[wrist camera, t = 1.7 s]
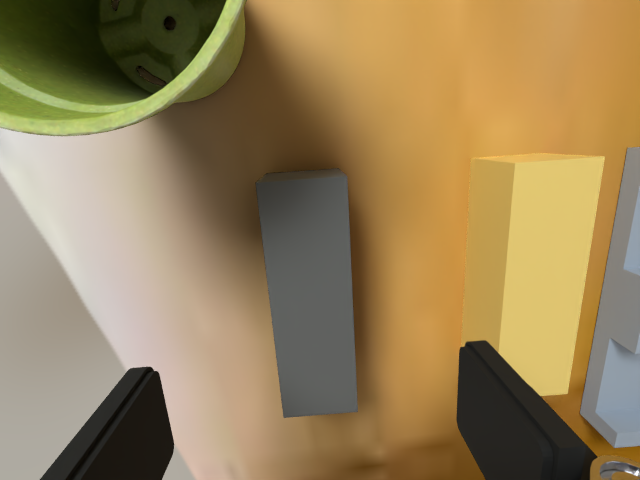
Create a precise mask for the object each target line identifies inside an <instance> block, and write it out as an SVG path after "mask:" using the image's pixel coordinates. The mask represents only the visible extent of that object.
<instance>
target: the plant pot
mask: <svg viewBox="0 0 640 480" xmlns="http://www.w3.org/2000/svg"><path fill="white" fill-rule="evenodd" d="M246 1H247V0H120V1H119V4H118V8H117V11H114V9H113V7H112V5H111V2H112V0H0V128H3V129H7V130H12V131H18V132H24V133H29V134H37V135H50V136H78V135H90V134H95V133H102V132H108V131H112V130H116V129H120V128H124V127H127V126H130V125H133V124H136V123H139V122H141V121H143V120H145V119H147V118H149V117H152V116H154V115H156V114H157V113H159V112H161V111H163V110H164V109H166V108H168V107H169V106H171V105H172V104H173V103H176V102H189V101H194V100H198V99H201V98H203V97H206V96H208V95H210V94H212V93H214V92H215V91H217V90H218V89H219V88H221V87H222V86H223V85H224V84H225V83H226V82H227V80H228V79H229V78H230V77H231V76H232V74H233V73H234V71H235V69H236V67H237V65H238V63H239V61H240V58H241V55H242V51H243V47H244V41H245V17H244V6H245V3H246ZM168 16H170V17H173V18H174V20H175V21H176V25H175V28H174V29H173V30H167V29H166V28H165V26H164V20H165V19H166V18H167V17H168ZM137 66H142V67H143V68H144V69H145V70H147V71H148V72H150V73H151V74H153V75H154V76H156V77H158V78H160V79H161V80H163V81H165V82H166V83H167V84H166V85H164V86H160V85H157V84H153V83H151V82H149V81H147V80H145V79H144V78H143V77H141V76H140V75H139V73H138V71H137V70H136V68H137Z"/></svg>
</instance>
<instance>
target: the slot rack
mask: <svg viewBox="0 0 640 480" xmlns="http://www.w3.org/2000/svg"><path fill="white" fill-rule="evenodd" d="M580 414H581V415H582V416H583V417H584V418H585V419H586V420H587V421H588V422H589V423H590V424H591V425H592V426H593V427H594V428H595V429H596V430H597V431H598V432H599V433H600V434H601V435H602V436H603V437H604V438H605V439H606V440H607V441H608V442H609V443H610V444H611V445H612V446H613V447H614V448H618V447H630V446H640V147H634V148H628V149H627V154H626V160H625V165H624V171H623V177H622V182H621V188H620V193H619V199H618V204H617V210H616V215H615V221H614V227H613V232H612V238H611V243H610V249H609V254H608V260H607V266H606V271H605V277H604V282H603V288H602V293H601V299H600V304H599V310H598V316H597V321H596V327H595V332H594V338H593V343H592V349H591V355H590V360H589V366H588V371H587V377H586V382H585V388H584V393H583V399H582V405H581V410H580Z"/></svg>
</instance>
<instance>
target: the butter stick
mask: <svg viewBox="0 0 640 480" xmlns="http://www.w3.org/2000/svg"><path fill="white" fill-rule="evenodd" d="M604 159H605V156H587V155H568V154H550V153H535V154H521V155H508V156H494V157H481V158H471V163H470V182H469V202H468V221H467V240H466V259H465V279H464V298H463V317H462V336H461V347H465V343H466V342H467V341H480V340H486V341H487V342H489V344H490V345H491V346H492V347H493V348H494V349H495V350H496V351H497V352H498V353H499V354H500V355H501V356H502V357H503V358H504V359H505V361H506V362H507V363H508V364H509V365H510V366H511V367H512V368H513V369H514V370H515V371H516V372H517V373H518V374H519V375H520V376H521V378H522V379H523V380H524V381H525V382H526V383H527V384H528V385H530V386H531V387H532V388H533V389H534V390H535V391H536V392H537V393H538V394H539V396H547V395H559V394H568V387H569V381H570V375H571V368H572V362H573V356H574V349H575V343H576V337H577V330H578V324H579V318H580V311H581V305H582V299H583V292H584V286H585V280H586V273H587V267H588V261H589V254H590V248H591V242H592V235H593V229H594V223H595V216H596V210H597V203H598V197H599V191H600V184H601V178H602V172H603V165H604Z"/></svg>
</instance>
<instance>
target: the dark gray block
mask: <svg viewBox="0 0 640 480" xmlns="http://www.w3.org/2000/svg"><path fill="white" fill-rule="evenodd" d="M256 191H257V199H258V208H259V216H260V224H261V233H262V241H263V249H264V258H265V266H266V274H267V283H268V291H269V300H270V308H271V316H272V325H273V333H274V341H275V350H276V358H277V366H278V375H279V383H280V392H281V400H282V408H283V417H284V418H287V417H299V416H312V415H324V414H337V413H349V412H358V405H357V383H356V361H355V339H354V316H353V294H352V272H351V249H350V227H349V205H348V183H347V176H346V175H345V174H344V173H343V172H342V171H341V170H340V169H339V168H336V169H322V170H308V171H294V172H280V173H267V174H266V175H264V176H263V177H262V178H261V179H260V180H258V181H257V182H256Z"/></svg>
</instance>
